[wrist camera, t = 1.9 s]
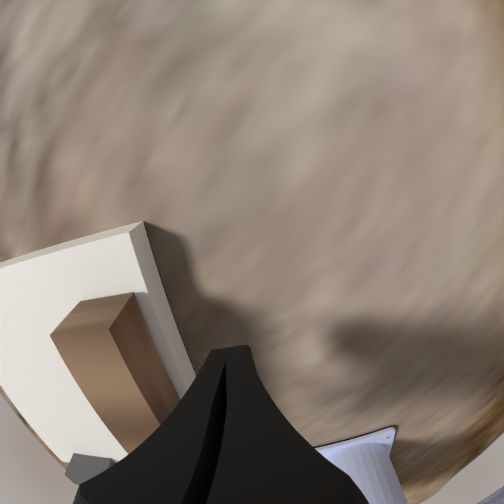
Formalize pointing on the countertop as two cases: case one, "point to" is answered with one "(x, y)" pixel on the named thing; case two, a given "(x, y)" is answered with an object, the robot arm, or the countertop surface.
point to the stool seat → (52, 314)
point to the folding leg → (117, 366)
